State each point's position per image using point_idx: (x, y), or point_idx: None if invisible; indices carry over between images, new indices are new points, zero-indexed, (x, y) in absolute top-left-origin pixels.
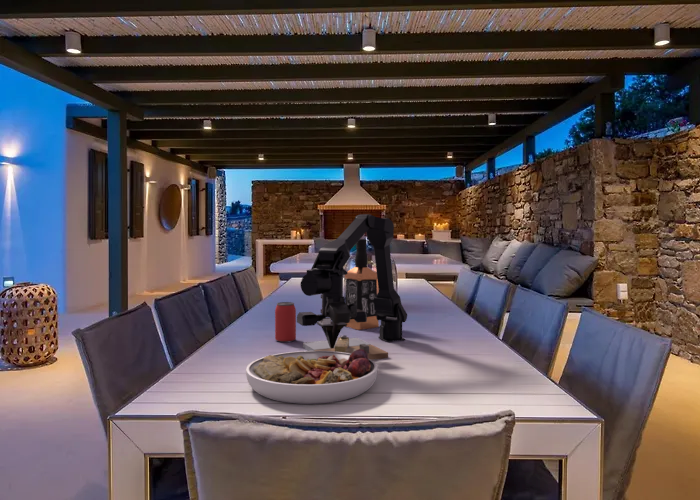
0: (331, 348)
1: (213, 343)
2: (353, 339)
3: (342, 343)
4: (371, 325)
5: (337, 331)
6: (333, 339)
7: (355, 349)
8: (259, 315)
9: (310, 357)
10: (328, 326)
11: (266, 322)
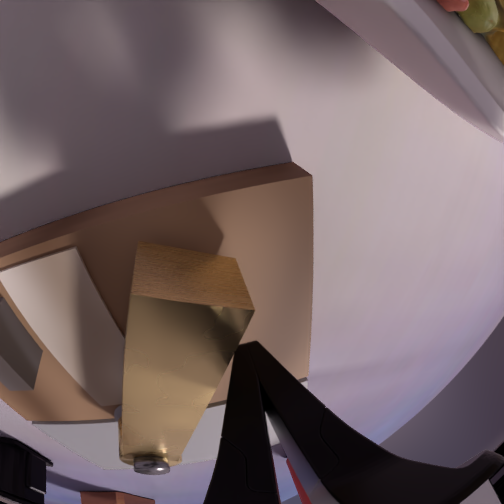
0: (252, 341)
1: (437, 393)
2: (113, 463)
3: (156, 392)
4: (93, 496)
5: (244, 493)
6: (263, 405)
7: (75, 383)
8: (287, 495)
9: (490, 70)
10: (458, 492)
11: (291, 487)
